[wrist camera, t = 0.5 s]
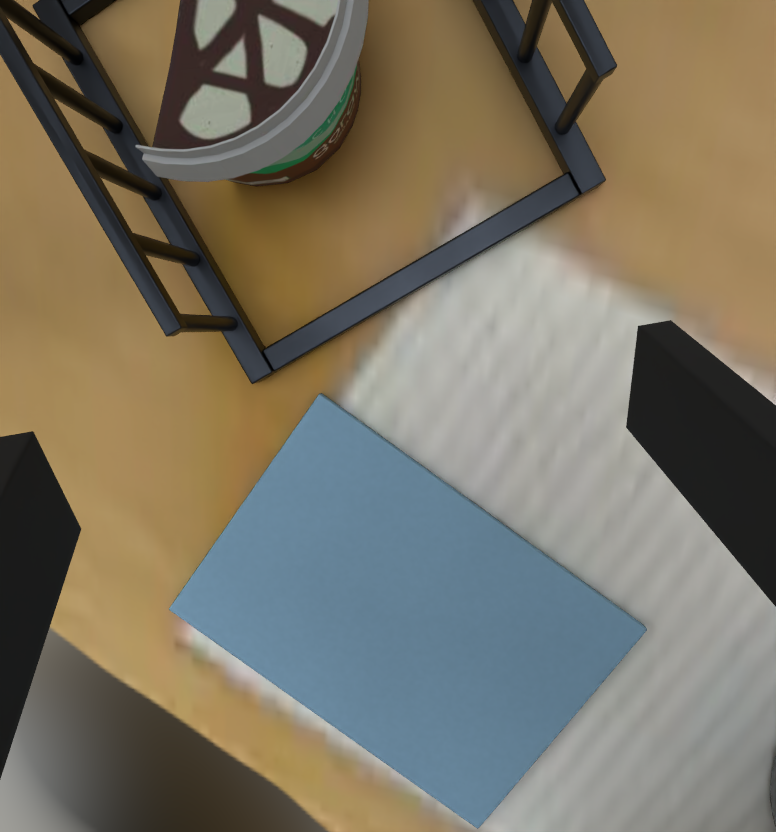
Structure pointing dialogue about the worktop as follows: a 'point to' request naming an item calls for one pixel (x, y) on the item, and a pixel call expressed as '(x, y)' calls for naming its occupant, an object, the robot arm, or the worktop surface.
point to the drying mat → (404, 613)
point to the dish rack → (58, 29)
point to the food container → (258, 89)
